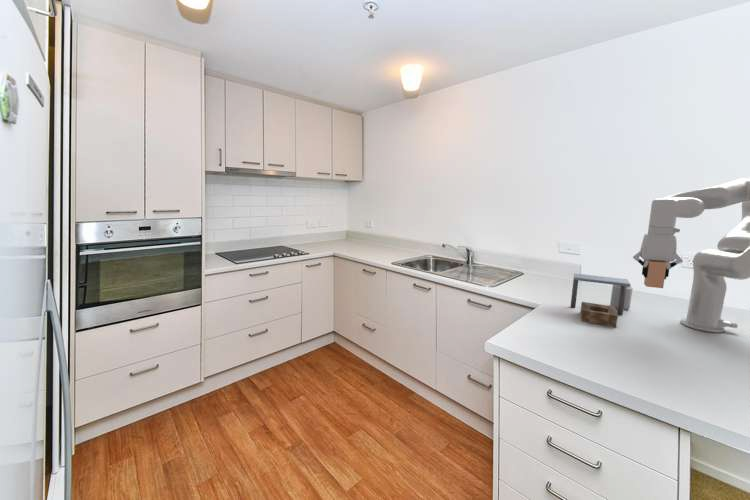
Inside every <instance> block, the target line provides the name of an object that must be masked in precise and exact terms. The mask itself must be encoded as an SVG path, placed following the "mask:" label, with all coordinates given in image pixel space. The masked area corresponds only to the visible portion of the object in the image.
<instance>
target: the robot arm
mask: <svg viewBox="0 0 750 500" xmlns="http://www.w3.org/2000/svg"><path fill="white" fill-rule="evenodd" d="M740 203H742V204H741V220H740V222H739V223H738V224H737V225H736V226H735V227H734V228H732V229H731V230H730V231H729V232H727V233H725V235H724V236H722V237H721V238H720V240H719V241H718V243H717V245H716V246H717V249H718V250H717V249H703V250H700V251H698V252H696V253H695V255H694V256H693V259H692V269H693V276H692V277H693V278H692V285H691V290H690V295H689V296H690V297H689V302H688V306H687V312H686V317H684V318H681V319H680V323H681V324H682V325H683V326H685V327H688V328H691V329H693V330H698V331H700V332H701V331H702V332H706V333H707V332H709V333H718V334H719V333H723V332H724V331H725V328H726V327H727V328H732V329H737V328H738V326H739V325H738V323H737V322H731V321H729V320H724V319H723V318H722V313H723V309H724V303H725V298H726V297H725V296H726V293H727V282H726V280H725V278H729V279H733V280H738V281H739V280H740V281H742V280H748V279H749V278H750V177H748V178H747V177H746V178H739V179H736V180H733V181H729V182H726V183H722V184H719V185H715V186H712V187H705V188H701V189H696V190H690V191H686V192H685V191H684V192H679V193H676V194H673V195H668V196H665V197H663V198H655V199H653V200H651V206H650V215H649V222H648V230H647V233H645V234H644V235H643V239H642V243H641V245H640V250H639V251H638V252H637V253H636V254H634V255H633V256H632V258H633V259H634V261H636V262H637V263H639V264H640V265H641V266H642V269H641V270H642V271H641V275H642V276H643V278H645V277H647V273H648V266H647V265H648V263H649V261H650V260H653V261H665V262H667V265H666V272H665V279H664V280H667V278H669V275H670V270H671V269H672V268H674V267H675V266H677V265H679V264H681V263H683V259H682V258H681V257H680V255H679V254H678V253H677V236H676V234H677V233H680V231H681V229H680V228H677V227H676V222H677V218H680V219H692V218H697V217H699V216H700V215H702V213H704V211H705V210H717V209H718V210H719V209H723V208H726V207H729V206H733V205H737V204H740Z"/></svg>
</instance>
